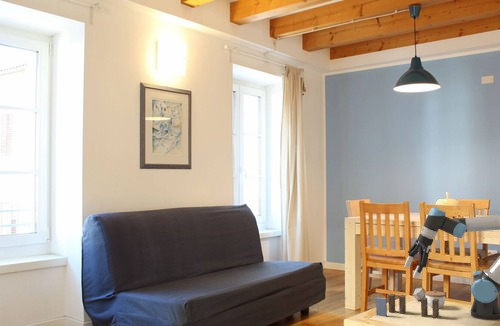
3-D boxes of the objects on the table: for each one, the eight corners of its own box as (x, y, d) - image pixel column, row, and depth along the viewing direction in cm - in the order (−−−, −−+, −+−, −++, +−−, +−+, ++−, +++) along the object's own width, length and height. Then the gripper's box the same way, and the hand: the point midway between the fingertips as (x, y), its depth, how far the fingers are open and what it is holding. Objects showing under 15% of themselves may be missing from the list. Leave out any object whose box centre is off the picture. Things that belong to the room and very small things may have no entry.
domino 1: (377, 314, 271) (377, 297, 271) (386, 315, 268) (386, 298, 269) (376, 315, 269) (376, 298, 270) (385, 316, 267) (385, 299, 267)
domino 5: (438, 316, 266) (438, 298, 267) (436, 318, 262) (436, 300, 263) (434, 315, 267) (434, 298, 268) (432, 318, 263) (432, 300, 264)
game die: (423, 307, 300) (430, 296, 294) (409, 302, 301) (415, 290, 296) (424, 297, 307) (431, 285, 301) (410, 291, 309) (416, 280, 303)
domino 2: (395, 310, 279) (394, 294, 279) (392, 312, 274) (392, 295, 275) (391, 310, 280) (391, 293, 280) (388, 312, 275) (388, 295, 276)
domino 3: (405, 312, 276) (405, 295, 276) (403, 314, 271) (402, 297, 272) (402, 311, 277) (401, 294, 277) (399, 313, 272) (399, 296, 273)
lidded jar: (448, 309, 281) (448, 292, 281) (429, 309, 281) (428, 292, 281) (441, 304, 291) (441, 288, 292) (422, 304, 292) (422, 288, 292)
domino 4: (427, 314, 269) (427, 297, 270) (425, 317, 265) (425, 299, 266) (423, 314, 271) (423, 297, 271) (421, 316, 266) (421, 299, 267)
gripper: (412, 226, 280) (396, 261, 283) (429, 241, 255) (412, 279, 258) (424, 231, 280) (409, 265, 283) (443, 246, 256) (426, 284, 259)
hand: (410, 272), depth 271 cm, fingers open, 13 cm apart
